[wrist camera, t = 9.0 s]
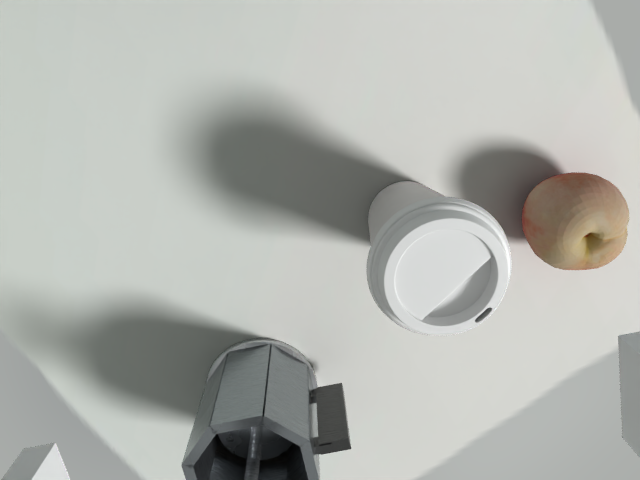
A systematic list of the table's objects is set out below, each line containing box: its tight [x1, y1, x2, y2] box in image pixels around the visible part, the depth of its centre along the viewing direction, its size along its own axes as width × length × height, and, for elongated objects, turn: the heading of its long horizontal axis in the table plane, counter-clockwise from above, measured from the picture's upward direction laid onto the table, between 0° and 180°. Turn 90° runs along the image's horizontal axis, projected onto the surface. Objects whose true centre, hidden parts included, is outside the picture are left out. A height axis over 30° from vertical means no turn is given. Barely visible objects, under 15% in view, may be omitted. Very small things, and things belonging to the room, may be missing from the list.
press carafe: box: [182, 339, 351, 480], centre depth 49 cm, size 11×13×12 cm
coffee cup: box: [367, 181, 512, 336], centre depth 43 cm, size 10×10×15 cm
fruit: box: [522, 173, 629, 270], centre depth 46 cm, size 8×8×8 cm
